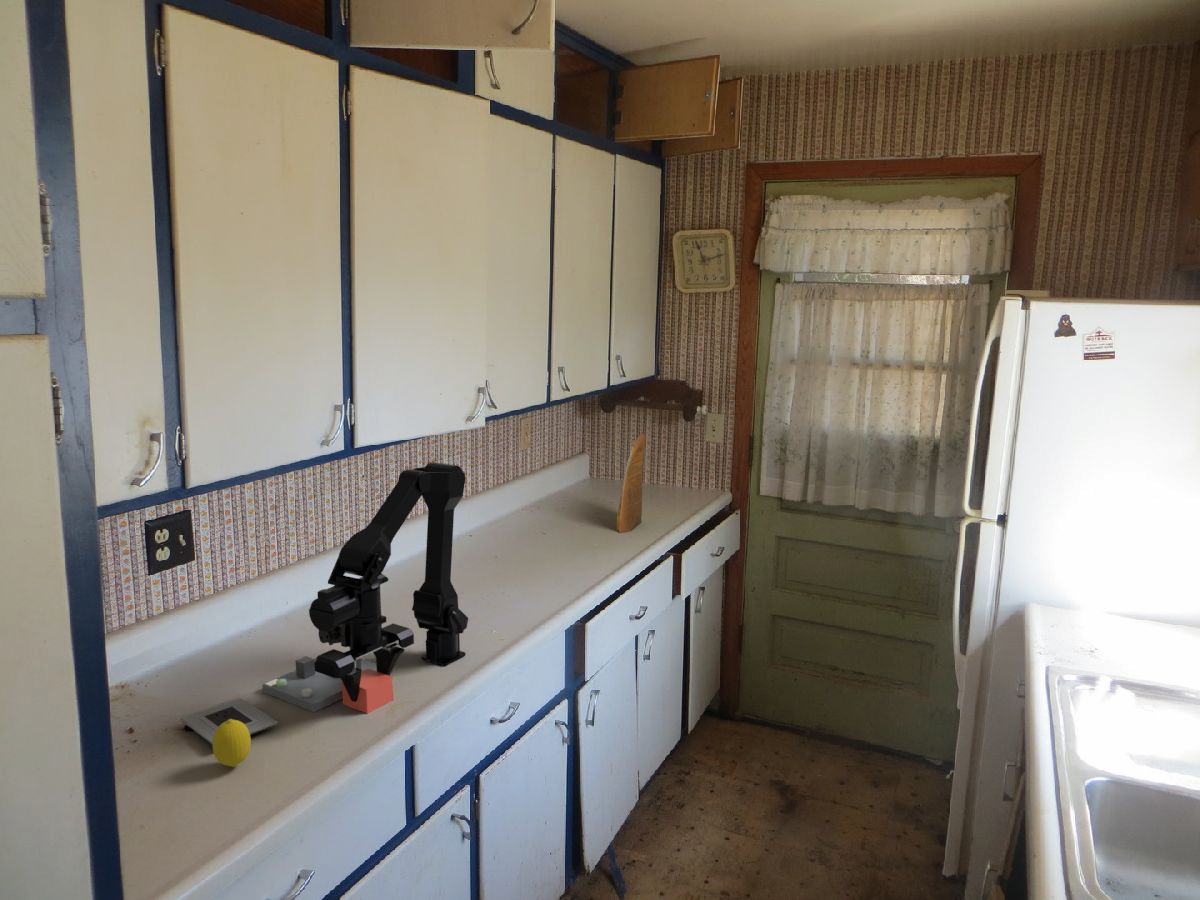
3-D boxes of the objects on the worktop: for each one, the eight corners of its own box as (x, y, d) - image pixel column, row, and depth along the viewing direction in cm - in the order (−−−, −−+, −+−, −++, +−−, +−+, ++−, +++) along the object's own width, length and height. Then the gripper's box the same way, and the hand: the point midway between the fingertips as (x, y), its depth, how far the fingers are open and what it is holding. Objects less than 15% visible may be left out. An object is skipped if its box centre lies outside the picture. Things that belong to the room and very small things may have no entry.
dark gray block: (306, 670, 173) (305, 656, 172) (315, 674, 171) (314, 659, 171) (296, 675, 171) (295, 660, 170) (304, 678, 170) (303, 663, 169)
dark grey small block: (352, 670, 173) (352, 655, 173) (361, 673, 172) (360, 658, 171) (342, 674, 171) (342, 659, 171) (351, 678, 170) (351, 663, 169)
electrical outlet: (277, 733, 153) (277, 720, 153) (216, 757, 146) (215, 743, 145) (240, 708, 162) (239, 696, 162) (181, 729, 155) (180, 716, 154)
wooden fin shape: (650, 519, 287) (652, 432, 281) (632, 535, 269) (633, 442, 264) (630, 517, 289) (632, 430, 283) (610, 533, 271) (612, 440, 266)
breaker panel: (339, 658, 182) (338, 646, 182) (389, 675, 175) (388, 663, 174) (262, 691, 168) (262, 679, 167) (313, 712, 160) (313, 698, 160)
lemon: (207, 774, 140) (203, 726, 139) (227, 756, 145) (223, 709, 144) (240, 778, 139) (237, 729, 138) (259, 759, 145) (256, 712, 143)
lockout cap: (369, 691, 168) (368, 668, 167) (393, 699, 165) (392, 676, 164) (343, 704, 163) (341, 680, 162) (367, 713, 160) (366, 689, 159)
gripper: (371, 588, 173) (375, 665, 176) (290, 618, 157) (295, 702, 160) (414, 600, 167) (417, 679, 170) (335, 632, 151) (339, 719, 154)
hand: (367, 694), depth 164 cm, fingers closed on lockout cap, 6 cm apart
